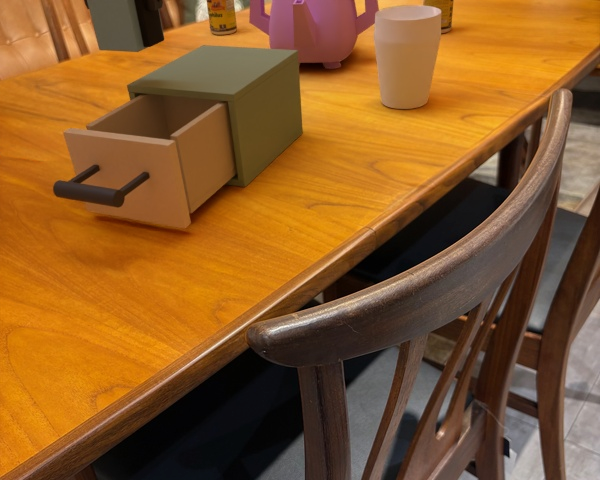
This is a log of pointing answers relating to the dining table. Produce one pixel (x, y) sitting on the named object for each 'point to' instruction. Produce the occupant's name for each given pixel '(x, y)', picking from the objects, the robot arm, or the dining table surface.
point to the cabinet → (239, 97)
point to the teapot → (314, 27)
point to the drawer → (151, 159)
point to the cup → (406, 53)
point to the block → (116, 25)
